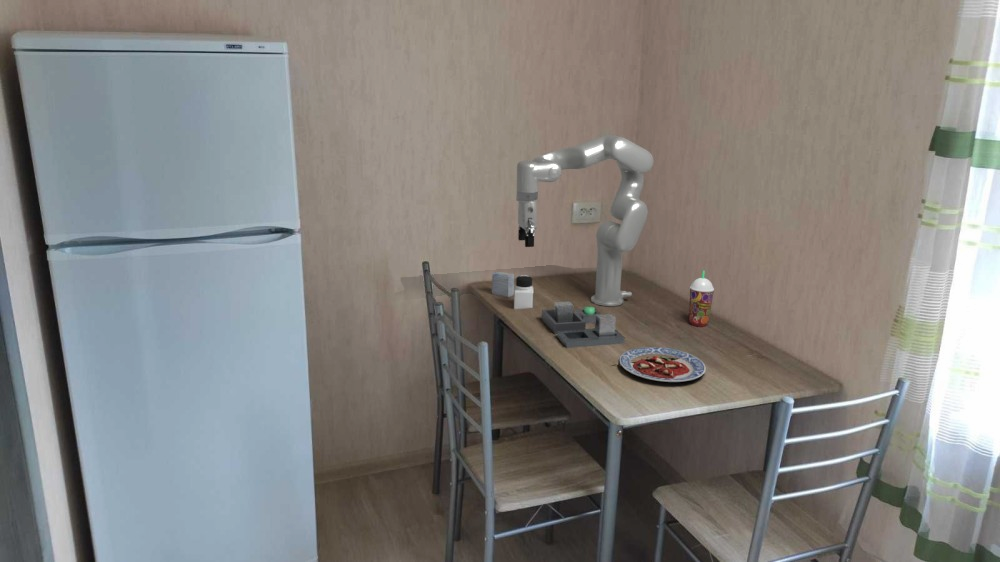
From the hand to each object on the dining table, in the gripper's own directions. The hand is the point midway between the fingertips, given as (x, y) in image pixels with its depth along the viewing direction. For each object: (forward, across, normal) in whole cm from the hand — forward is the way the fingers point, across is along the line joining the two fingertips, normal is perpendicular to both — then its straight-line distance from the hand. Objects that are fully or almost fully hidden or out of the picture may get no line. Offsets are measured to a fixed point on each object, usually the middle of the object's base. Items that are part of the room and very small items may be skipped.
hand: (526, 243), depth 259 cm
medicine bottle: (+27, +7, -1) cm, 28 cm away
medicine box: (+27, +22, +3) cm, 35 cm away
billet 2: (+26, -32, -19) cm, 46 cm away
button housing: (+27, -14, -20) cm, 36 cm away
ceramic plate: (+27, -57, -29) cm, 69 cm away
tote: (+27, -18, -10) cm, 33 cm away
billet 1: (+26, -18, -10) cm, 32 cm away
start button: (+25, -14, -20) cm, 35 cm away
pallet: (+27, -32, -14) cm, 44 cm away
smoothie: (+27, -22, -59) cm, 69 cm away
